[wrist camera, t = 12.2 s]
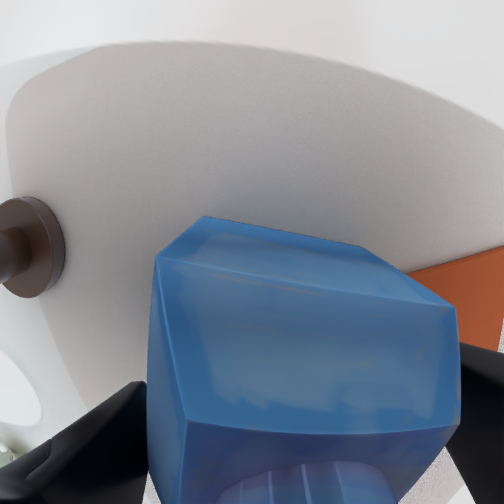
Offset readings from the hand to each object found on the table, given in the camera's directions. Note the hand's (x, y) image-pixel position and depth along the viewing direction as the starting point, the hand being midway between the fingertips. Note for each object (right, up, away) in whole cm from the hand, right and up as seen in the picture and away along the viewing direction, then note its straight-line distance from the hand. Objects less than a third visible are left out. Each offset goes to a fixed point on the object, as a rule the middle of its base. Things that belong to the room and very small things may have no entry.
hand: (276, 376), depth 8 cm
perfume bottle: (0, +1, +4) cm, 5 cm away
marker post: (-11, +4, +3) cm, 12 cm away
